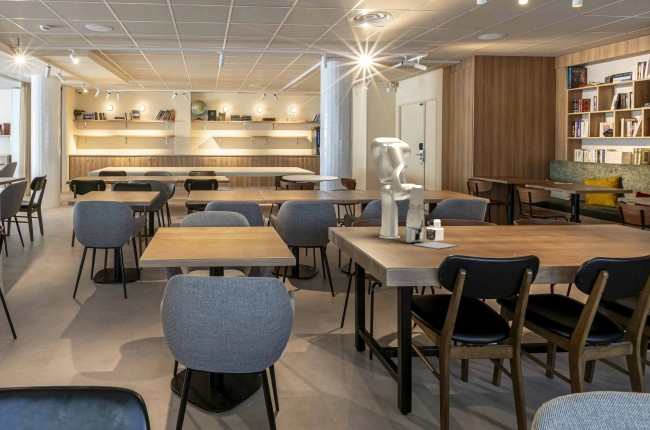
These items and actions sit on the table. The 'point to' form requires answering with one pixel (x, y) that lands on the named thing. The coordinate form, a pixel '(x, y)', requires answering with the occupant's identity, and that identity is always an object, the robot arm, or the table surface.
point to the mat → (435, 245)
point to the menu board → (413, 235)
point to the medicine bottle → (435, 231)
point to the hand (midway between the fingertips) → (414, 239)
